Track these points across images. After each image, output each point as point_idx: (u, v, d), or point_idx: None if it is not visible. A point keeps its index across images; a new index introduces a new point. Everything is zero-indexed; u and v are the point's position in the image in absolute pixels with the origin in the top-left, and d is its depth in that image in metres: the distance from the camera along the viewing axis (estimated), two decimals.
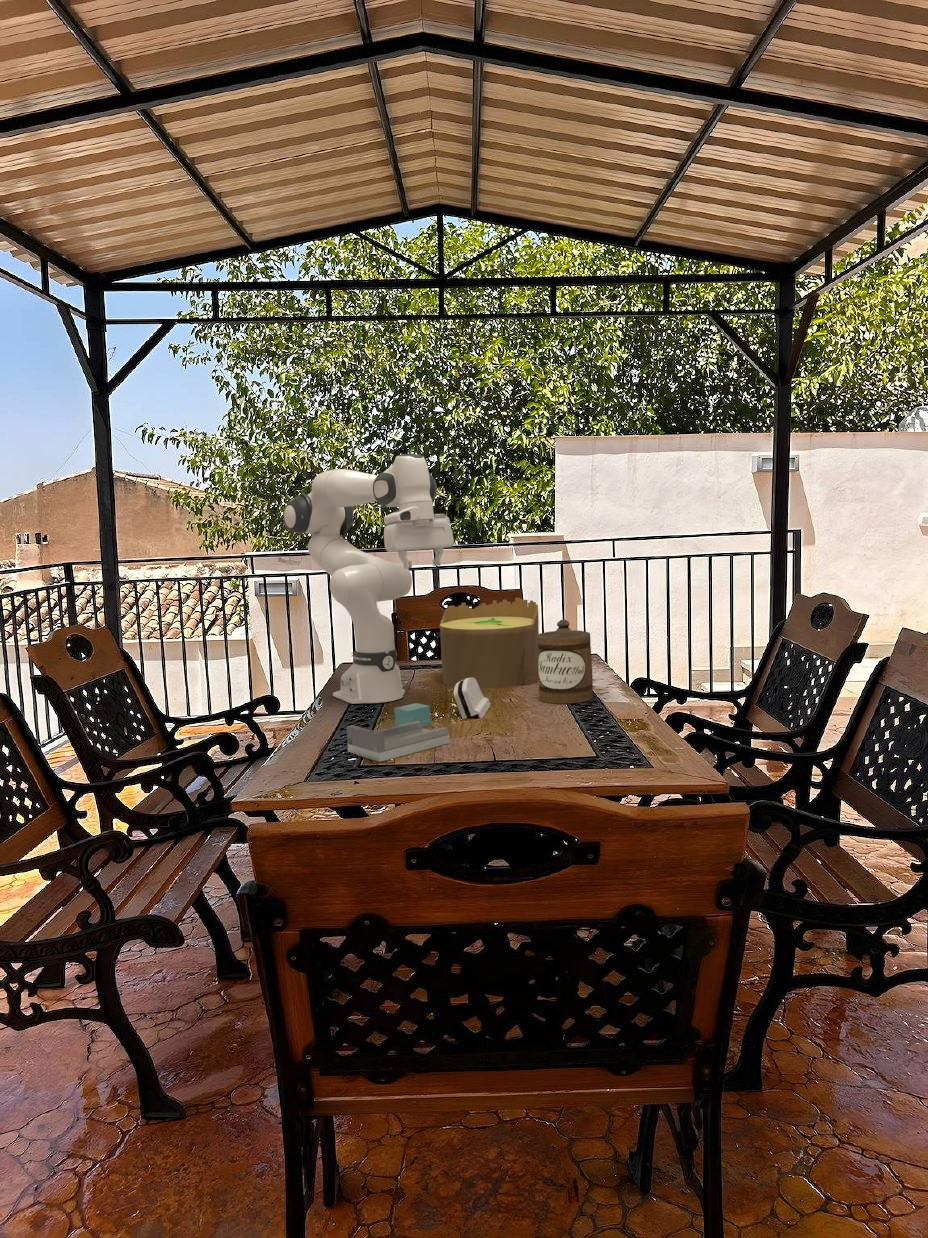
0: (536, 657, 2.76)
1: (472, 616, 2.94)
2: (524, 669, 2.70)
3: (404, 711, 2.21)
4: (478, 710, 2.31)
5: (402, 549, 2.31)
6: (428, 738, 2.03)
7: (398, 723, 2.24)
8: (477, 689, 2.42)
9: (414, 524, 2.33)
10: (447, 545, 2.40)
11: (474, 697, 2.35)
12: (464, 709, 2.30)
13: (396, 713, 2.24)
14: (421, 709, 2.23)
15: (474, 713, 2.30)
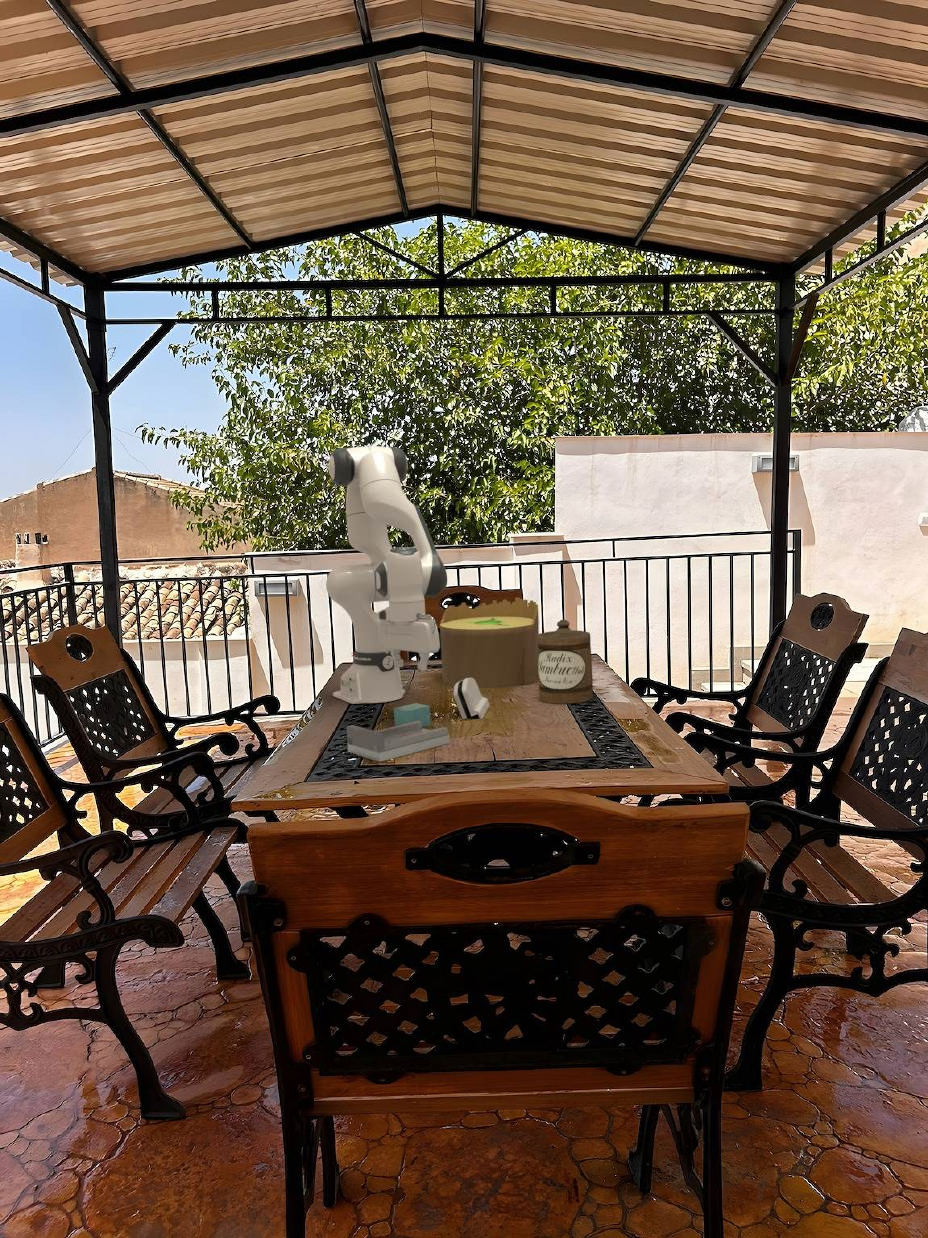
0: (536, 657, 2.76)
1: (472, 616, 2.94)
2: (524, 669, 2.70)
3: (404, 711, 2.21)
4: (478, 710, 2.31)
5: (387, 647, 2.26)
6: (428, 738, 2.03)
7: (398, 723, 2.23)
8: (476, 689, 2.42)
9: (395, 624, 2.22)
10: (423, 651, 2.15)
11: (474, 697, 2.35)
12: (464, 709, 2.30)
13: (396, 713, 2.24)
14: (421, 709, 2.23)
15: (474, 713, 2.29)
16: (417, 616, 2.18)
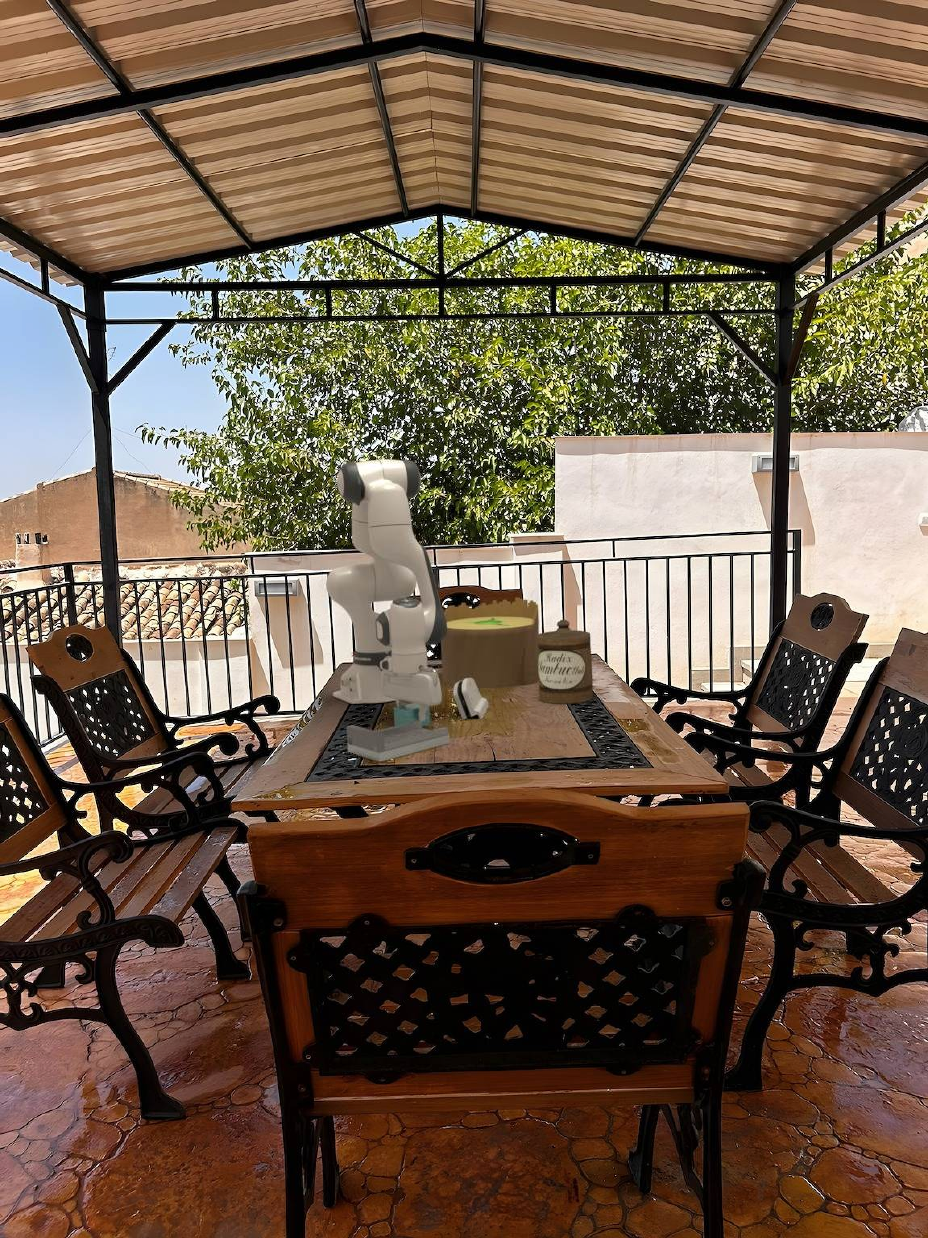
0: (536, 657, 2.76)
1: (472, 616, 2.94)
2: (524, 669, 2.70)
3: (403, 711, 2.21)
4: (478, 710, 2.30)
5: (389, 696, 2.28)
6: (428, 738, 2.03)
7: (397, 723, 2.23)
8: (475, 689, 2.41)
9: (397, 674, 2.24)
10: (425, 703, 2.17)
11: (473, 697, 2.35)
12: (464, 709, 2.30)
13: (395, 713, 2.24)
14: None
15: (474, 713, 2.29)
16: (419, 668, 2.19)
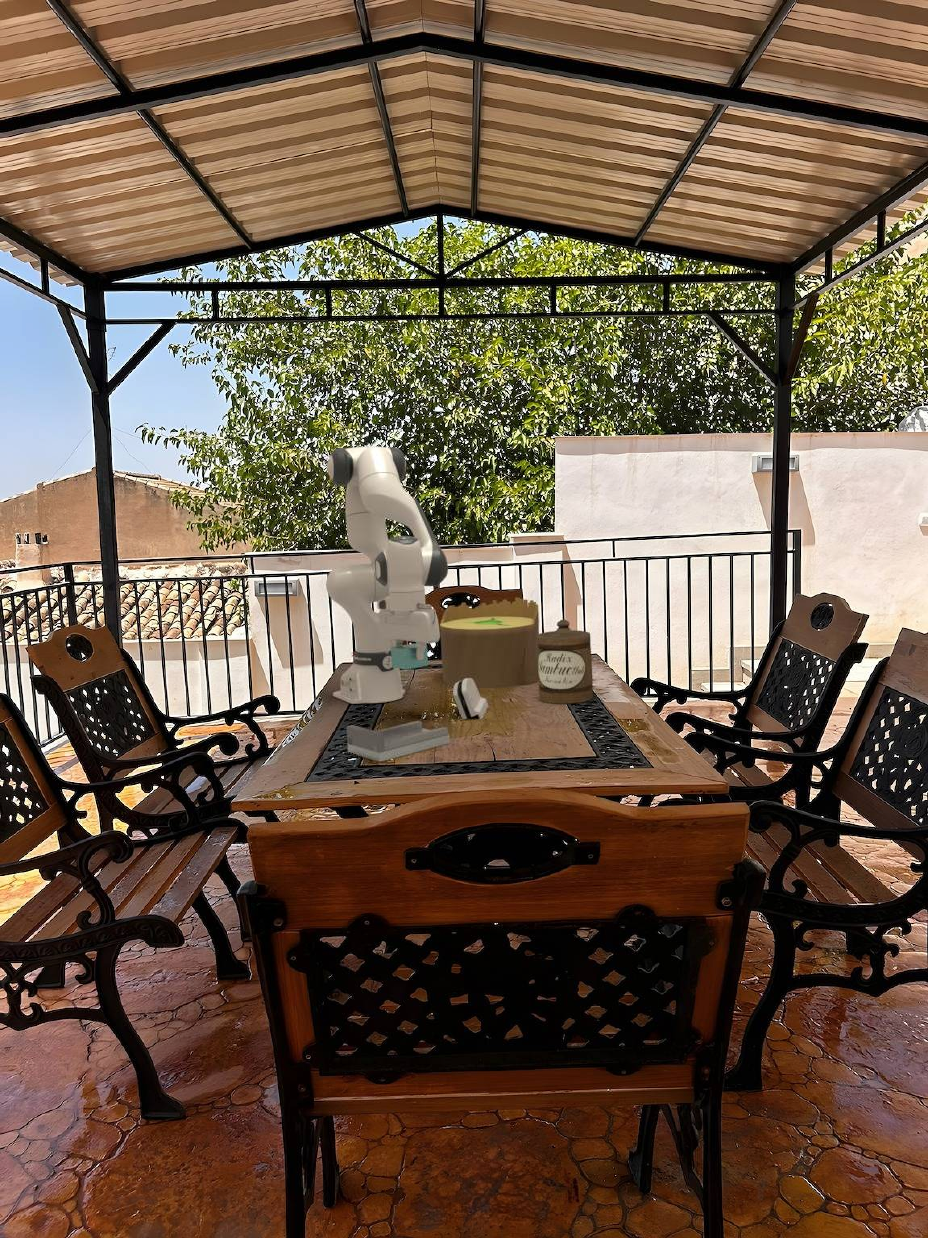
0: (536, 657, 2.76)
1: (472, 616, 2.95)
2: (524, 669, 2.70)
3: (401, 649, 2.18)
4: (478, 710, 2.30)
5: (387, 637, 2.25)
6: (428, 738, 2.03)
7: (395, 662, 2.20)
8: (475, 689, 2.41)
9: (395, 613, 2.21)
10: (423, 641, 2.14)
11: (473, 697, 2.35)
12: (464, 710, 2.30)
13: (393, 652, 2.20)
14: None
15: (474, 713, 2.29)
16: (417, 606, 2.16)
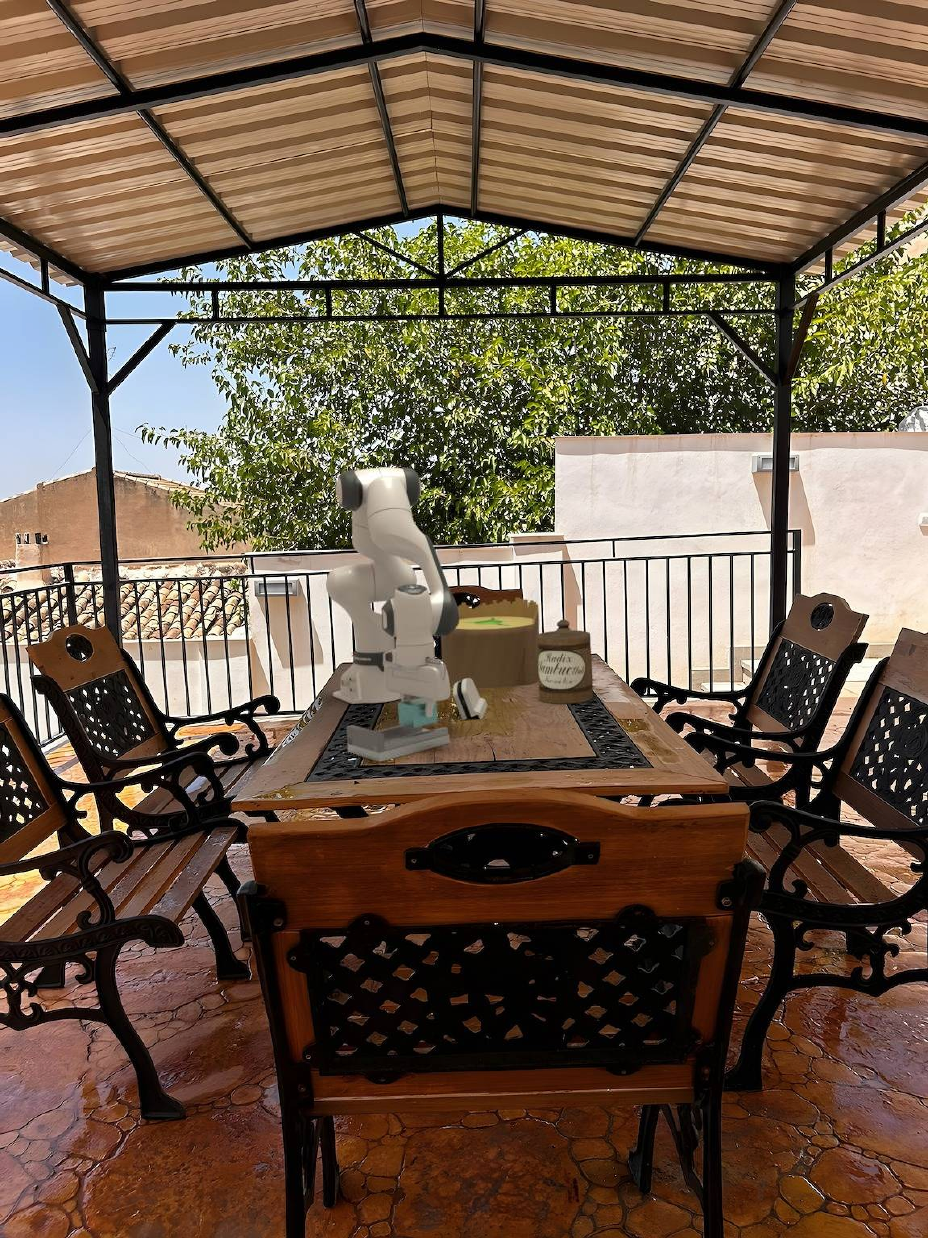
0: (536, 657, 2.76)
1: (472, 616, 2.95)
2: (525, 669, 2.70)
3: (409, 706, 2.04)
4: (478, 711, 2.30)
5: (393, 691, 2.11)
6: (428, 738, 2.03)
7: (402, 719, 2.06)
8: (474, 690, 2.41)
9: (402, 667, 2.07)
10: (432, 698, 2.00)
11: (473, 698, 2.34)
12: (464, 710, 2.29)
13: (400, 708, 2.06)
14: None
15: (474, 714, 2.29)
16: (426, 660, 2.02)
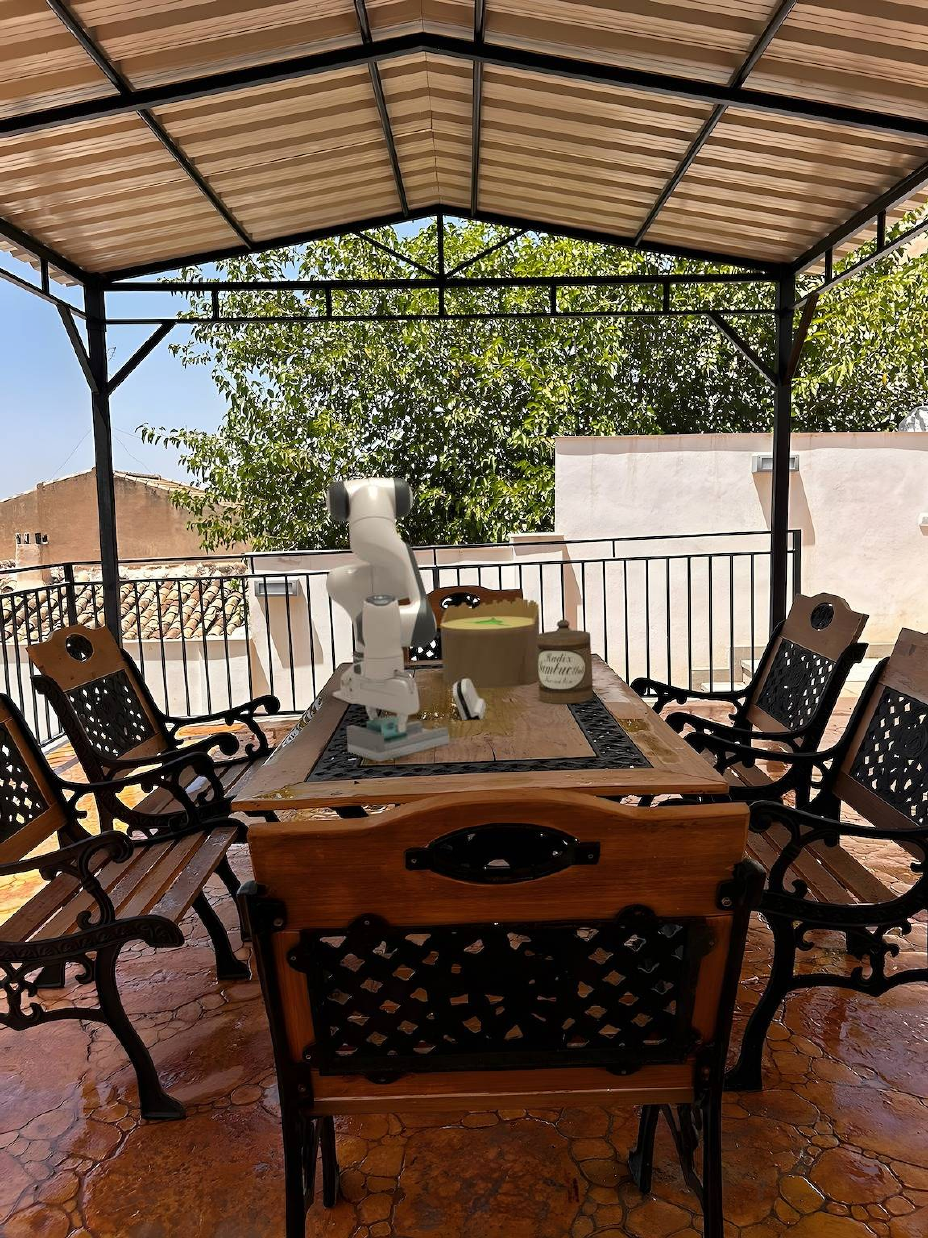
0: (537, 657, 2.76)
1: (472, 616, 2.95)
2: (525, 669, 2.70)
3: (377, 725, 1.99)
4: (478, 711, 2.30)
5: (362, 704, 2.06)
6: (428, 738, 2.03)
7: None
8: (473, 690, 2.41)
9: (371, 680, 2.01)
10: (400, 712, 1.95)
11: (472, 698, 2.34)
12: (464, 710, 2.29)
13: (369, 727, 2.01)
14: None
15: (474, 714, 2.28)
16: (395, 673, 1.97)
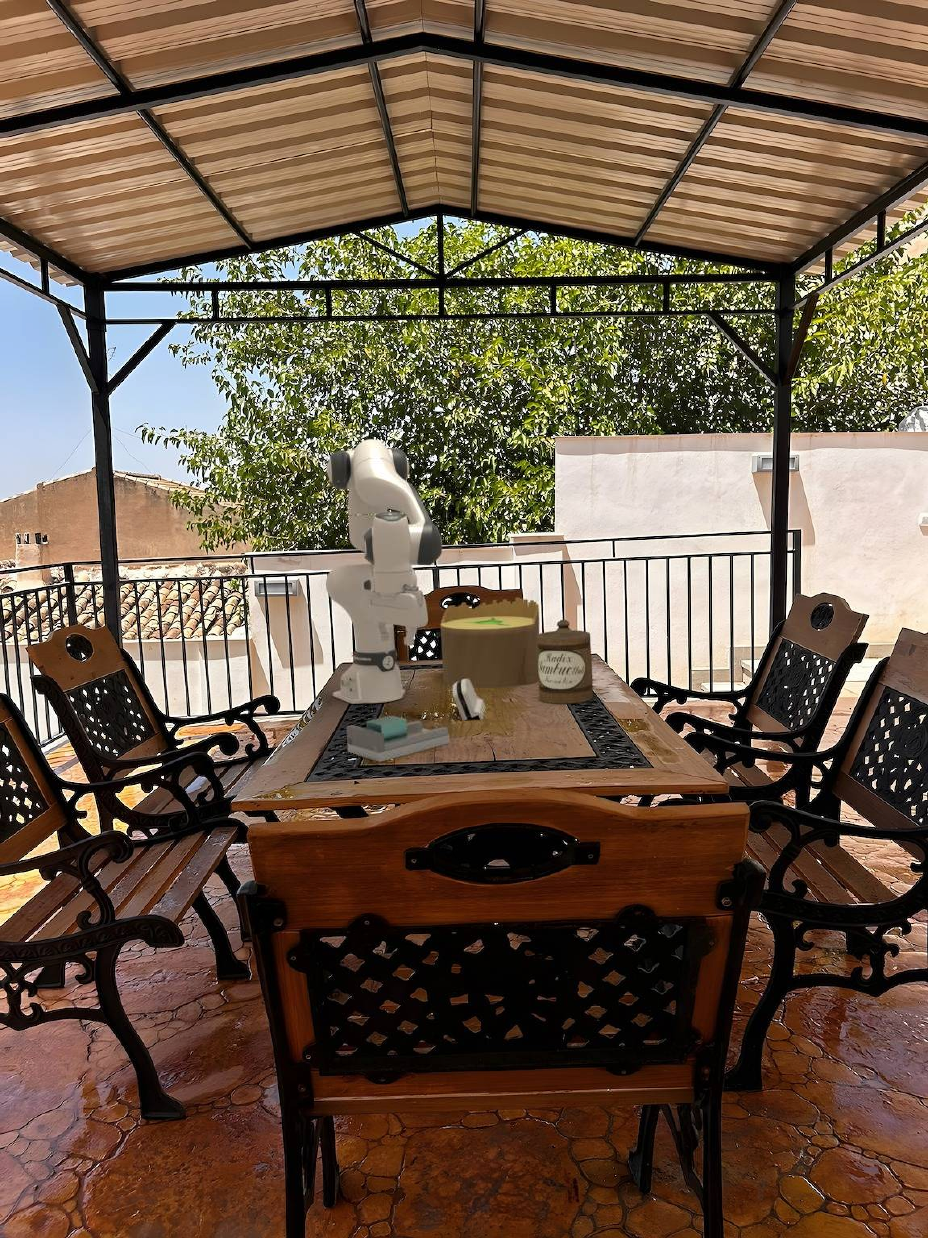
0: (537, 657, 2.77)
1: (472, 616, 2.95)
2: (525, 669, 2.70)
3: (377, 725, 1.99)
4: (478, 711, 2.29)
5: (372, 619, 2.11)
6: (428, 738, 2.03)
7: None
8: (472, 690, 2.40)
9: (380, 595, 2.07)
10: (409, 625, 2.00)
11: (472, 698, 2.34)
12: (464, 710, 2.29)
13: (369, 727, 2.01)
14: (397, 723, 2.01)
15: (474, 714, 2.28)
16: (404, 587, 2.02)
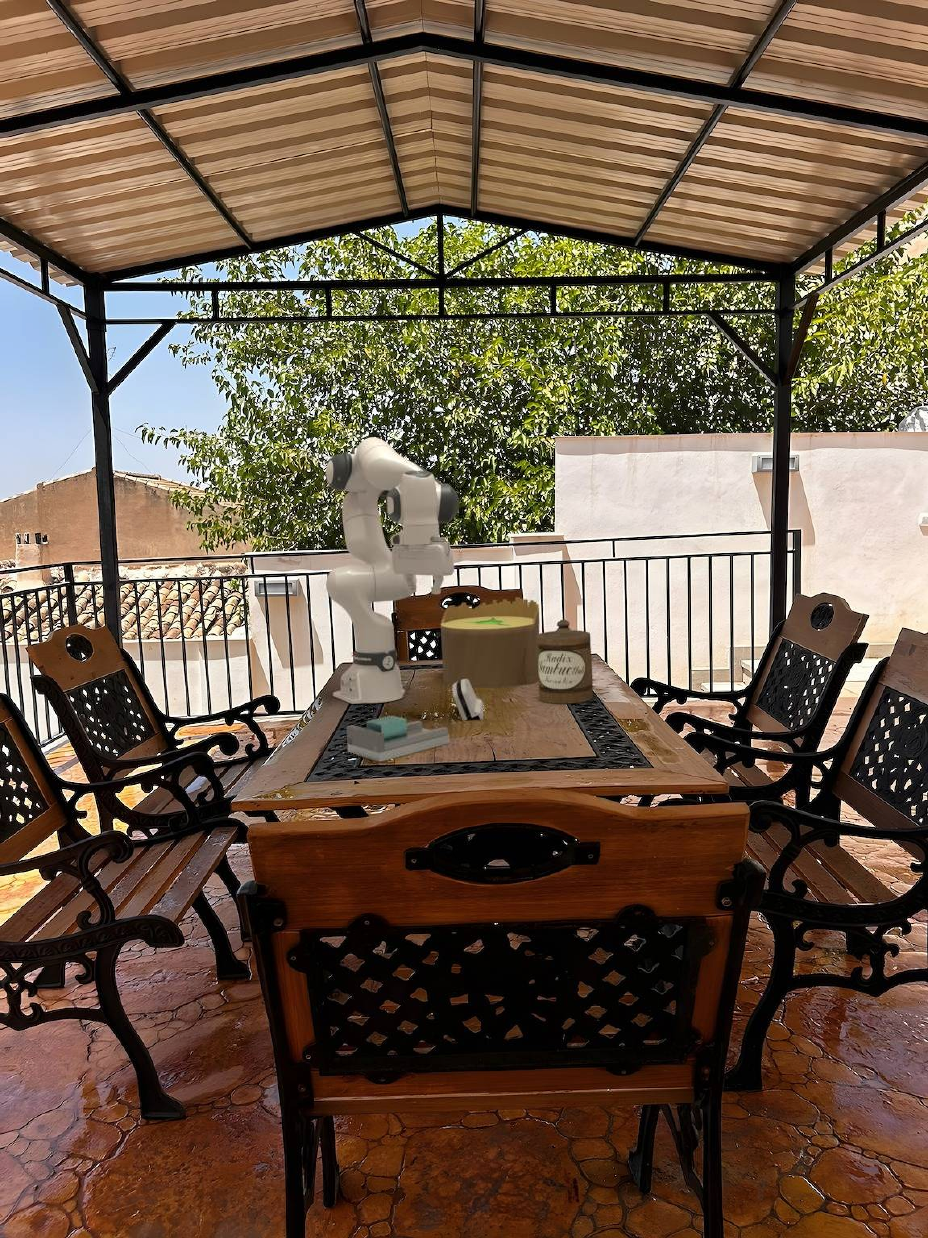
0: (537, 657, 2.77)
1: (472, 616, 2.95)
2: (525, 669, 2.70)
3: (377, 725, 1.99)
4: (478, 711, 2.29)
5: (400, 573, 2.25)
6: (428, 738, 2.03)
7: None
8: (472, 690, 2.40)
9: (409, 548, 2.21)
10: (437, 574, 2.15)
11: (472, 698, 2.34)
12: (464, 711, 2.28)
13: (369, 727, 2.01)
14: (397, 723, 2.01)
15: (475, 714, 2.28)
16: (431, 539, 2.17)
